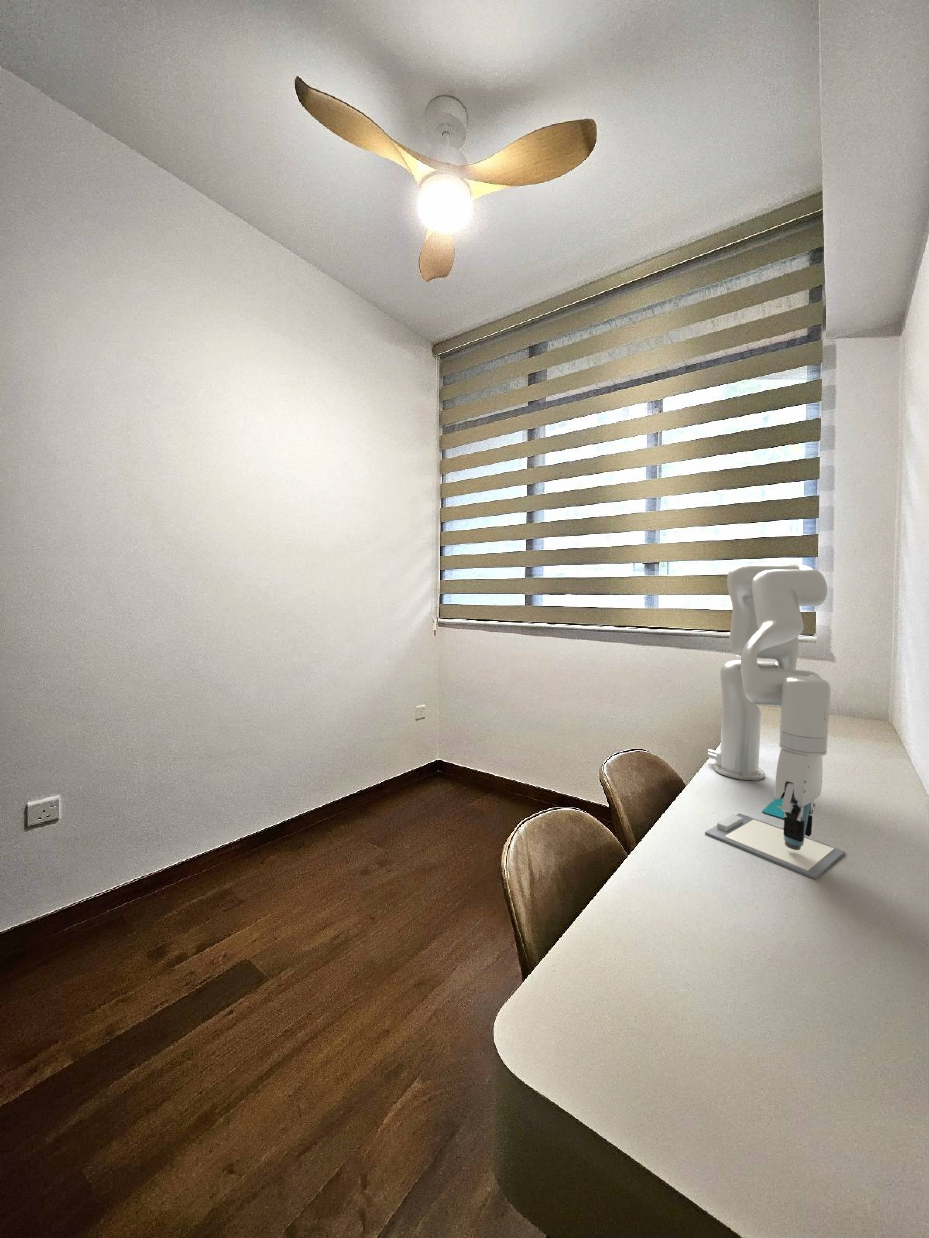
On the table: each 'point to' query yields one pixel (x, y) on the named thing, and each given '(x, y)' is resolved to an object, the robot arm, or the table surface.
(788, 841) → the bottle
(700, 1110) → the table surface
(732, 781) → the table surface
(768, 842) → the clipboard
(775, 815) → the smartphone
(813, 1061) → the table surface
